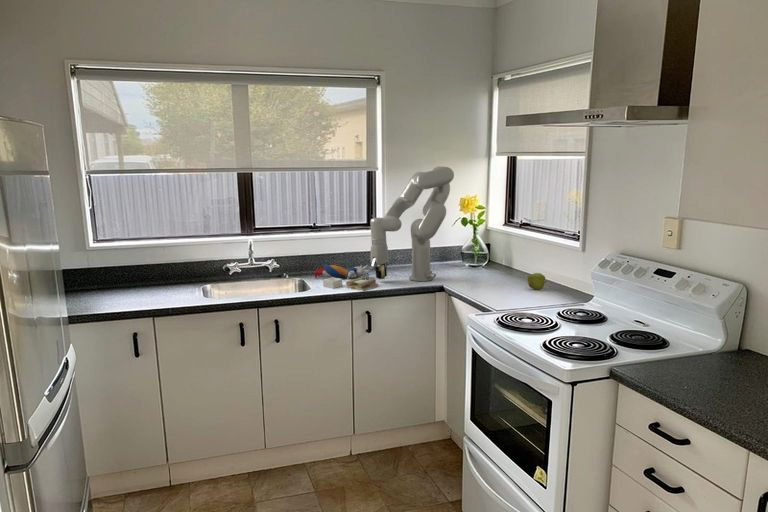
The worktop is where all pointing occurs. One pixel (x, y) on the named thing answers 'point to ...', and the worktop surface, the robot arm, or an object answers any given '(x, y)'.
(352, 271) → the figurine
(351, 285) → the tester base
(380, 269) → the cylinder
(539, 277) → the apple
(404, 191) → the robot arm
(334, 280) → the holder
